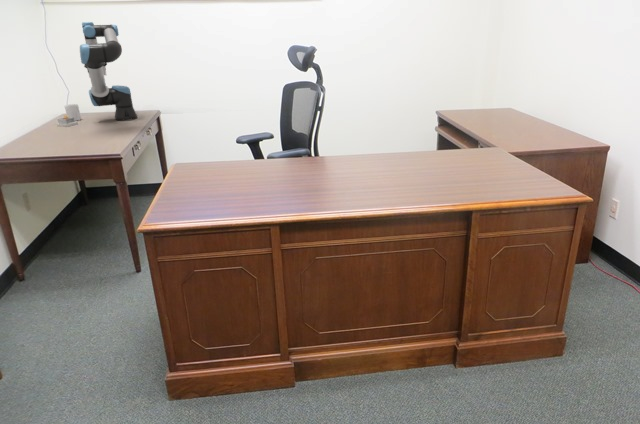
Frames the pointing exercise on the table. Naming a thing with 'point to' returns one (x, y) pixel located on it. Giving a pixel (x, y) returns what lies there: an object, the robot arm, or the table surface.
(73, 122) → the keeper
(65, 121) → the link
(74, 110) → the mug
